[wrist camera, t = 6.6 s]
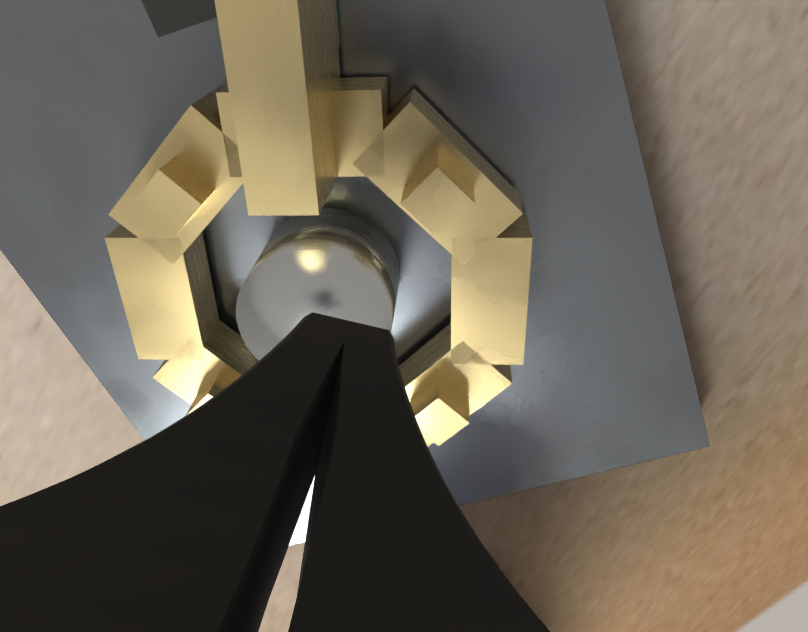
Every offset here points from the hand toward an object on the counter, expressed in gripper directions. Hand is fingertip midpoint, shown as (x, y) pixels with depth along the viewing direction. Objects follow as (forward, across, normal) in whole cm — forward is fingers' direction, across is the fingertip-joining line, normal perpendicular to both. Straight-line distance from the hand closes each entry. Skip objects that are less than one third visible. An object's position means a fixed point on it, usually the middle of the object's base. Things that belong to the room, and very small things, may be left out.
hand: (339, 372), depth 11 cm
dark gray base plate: (+10, +1, +3) cm, 10 cm away
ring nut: (+8, +2, +1) cm, 8 cm away
